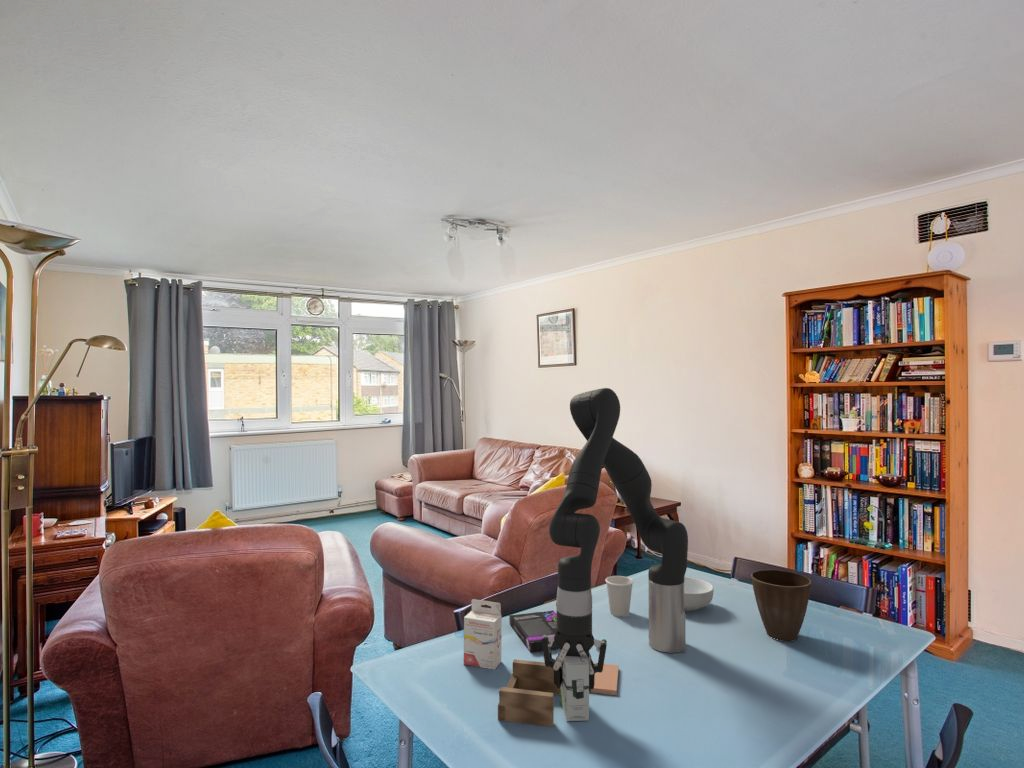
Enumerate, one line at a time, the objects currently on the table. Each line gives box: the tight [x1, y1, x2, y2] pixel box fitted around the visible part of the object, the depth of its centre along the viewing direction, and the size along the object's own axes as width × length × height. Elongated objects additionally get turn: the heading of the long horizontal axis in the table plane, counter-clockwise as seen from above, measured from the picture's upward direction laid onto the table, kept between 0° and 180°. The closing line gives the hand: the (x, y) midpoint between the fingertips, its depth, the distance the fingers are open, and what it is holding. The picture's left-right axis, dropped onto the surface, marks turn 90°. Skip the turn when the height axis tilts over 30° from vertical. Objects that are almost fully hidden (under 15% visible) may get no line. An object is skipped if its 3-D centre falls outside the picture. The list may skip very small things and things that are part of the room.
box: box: [508, 610, 560, 654], centre depth 157 cm, size 14×4×20 cm
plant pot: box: [750, 569, 812, 642], centre depth 156 cm, size 15×15×16 cm
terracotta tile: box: [590, 662, 619, 696], centre depth 132 cm, size 12×12×1 cm
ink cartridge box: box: [463, 598, 503, 671], centre depth 140 cm, size 9×5×15 cm, turn 71°
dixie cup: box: [604, 575, 634, 618], centre depth 172 cm, size 8×8×10 cm
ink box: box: [559, 656, 590, 722], centre depth 119 cm, size 9×5×12 cm, turn 4°
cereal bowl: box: [684, 576, 714, 612], centre depth 178 cm, size 17×17×7 cm
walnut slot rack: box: [497, 659, 560, 728], centre depth 121 cm, size 11×14×6 cm
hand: (573, 687), depth 119 cm, fingers closed on ink box, 5 cm apart
